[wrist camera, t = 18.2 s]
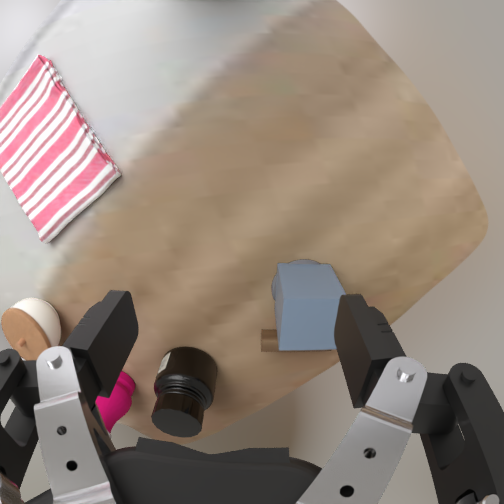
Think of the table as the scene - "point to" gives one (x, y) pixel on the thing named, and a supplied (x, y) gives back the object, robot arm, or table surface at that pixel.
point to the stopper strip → (275, 343)
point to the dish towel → (50, 151)
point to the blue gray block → (306, 306)
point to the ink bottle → (183, 391)
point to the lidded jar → (31, 327)
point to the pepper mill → (116, 401)
